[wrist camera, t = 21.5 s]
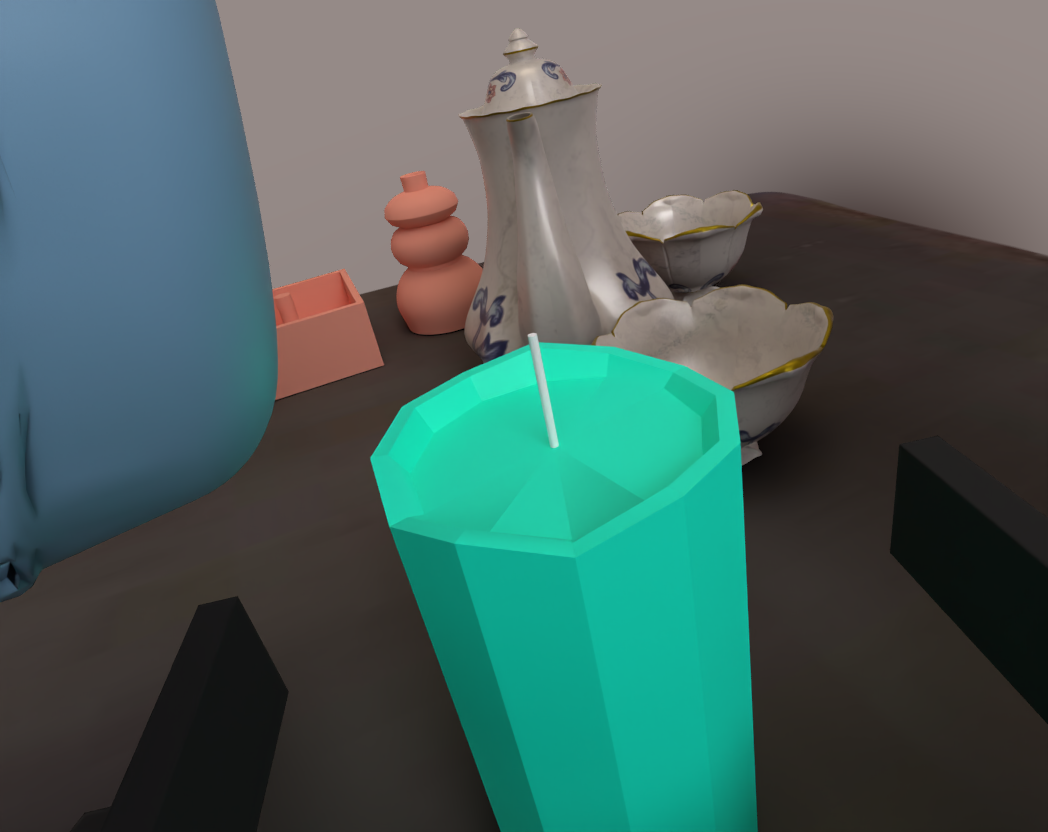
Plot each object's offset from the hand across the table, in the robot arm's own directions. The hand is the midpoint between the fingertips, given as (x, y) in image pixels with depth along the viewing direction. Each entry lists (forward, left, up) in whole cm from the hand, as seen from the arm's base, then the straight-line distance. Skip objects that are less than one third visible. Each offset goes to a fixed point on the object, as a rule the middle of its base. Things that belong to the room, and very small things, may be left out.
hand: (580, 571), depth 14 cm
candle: (+1, -1, -7) cm, 7 cm away
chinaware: (-14, +17, -7) cm, 24 cm away
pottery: (-33, +12, -7) cm, 36 cm away
